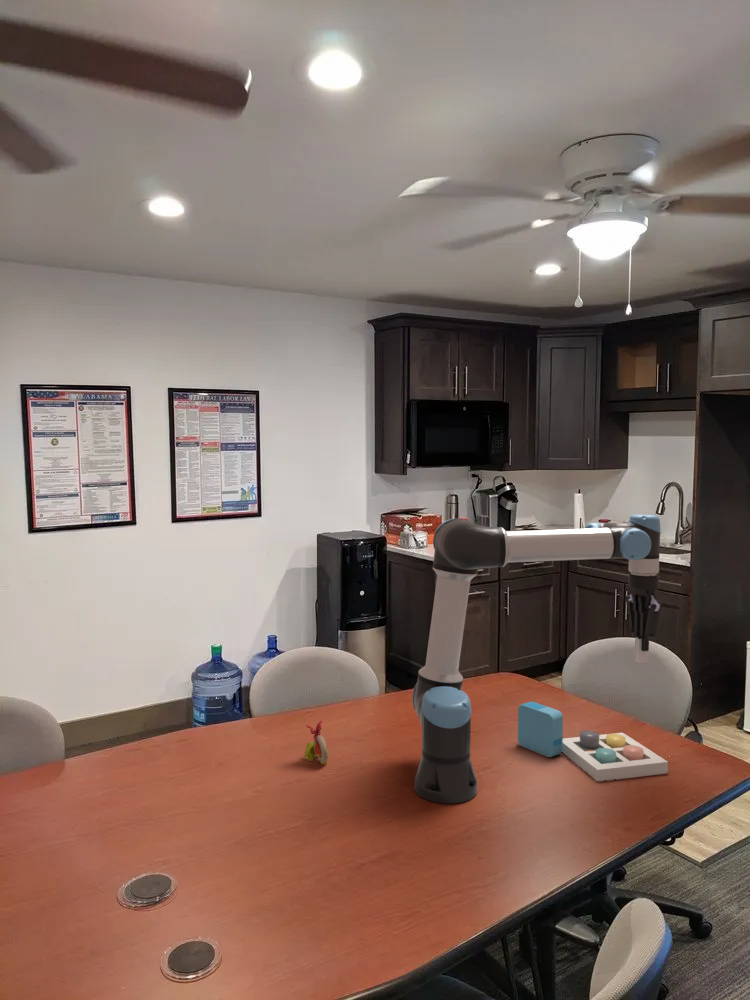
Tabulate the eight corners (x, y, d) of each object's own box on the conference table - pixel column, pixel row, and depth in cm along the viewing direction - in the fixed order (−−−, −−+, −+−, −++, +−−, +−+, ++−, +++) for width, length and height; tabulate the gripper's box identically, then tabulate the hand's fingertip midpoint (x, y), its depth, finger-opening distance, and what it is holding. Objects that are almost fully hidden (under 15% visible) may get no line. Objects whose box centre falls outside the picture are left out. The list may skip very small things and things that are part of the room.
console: (597, 781, 176) (597, 769, 176) (557, 749, 195) (558, 739, 195) (667, 773, 181) (667, 761, 181) (622, 743, 200) (622, 732, 200)
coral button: (630, 765, 182) (630, 753, 182) (619, 757, 187) (619, 746, 187) (647, 763, 183) (647, 751, 183) (635, 756, 188) (636, 744, 188)
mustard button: (612, 753, 190) (612, 741, 190) (602, 746, 195) (602, 734, 194) (629, 751, 191) (629, 740, 191) (618, 744, 196) (618, 733, 196)
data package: (562, 755, 192) (563, 711, 191) (552, 759, 189) (552, 715, 188) (527, 741, 201) (528, 699, 200) (517, 745, 198) (517, 703, 198)
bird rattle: (334, 769, 187) (320, 745, 194) (342, 737, 183) (327, 713, 190) (313, 775, 184) (299, 750, 191) (320, 742, 180) (306, 718, 187)
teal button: (602, 769, 180) (602, 756, 180) (591, 761, 185) (592, 749, 185) (619, 767, 181) (620, 754, 181) (608, 759, 186) (609, 747, 186)
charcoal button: (585, 750, 188) (586, 738, 188) (576, 742, 193) (576, 731, 192) (602, 748, 189) (603, 736, 189) (592, 741, 194) (592, 729, 194)
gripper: (672, 576, 181) (669, 668, 182) (641, 569, 193) (639, 654, 195) (646, 577, 179) (644, 670, 180) (616, 570, 192) (615, 656, 193)
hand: (641, 661), depth 188 cm, fingers closed
